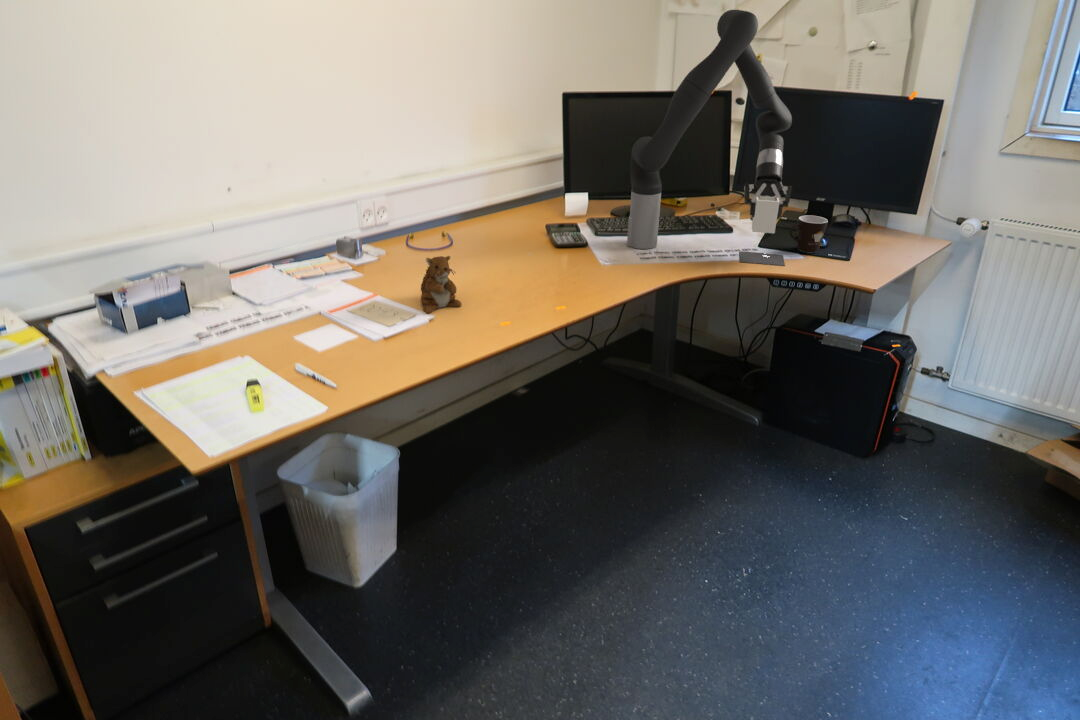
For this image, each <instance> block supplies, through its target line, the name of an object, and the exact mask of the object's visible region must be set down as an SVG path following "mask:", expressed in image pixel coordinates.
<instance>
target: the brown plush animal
mask: <svg viewBox="0 0 1080 720" xmlns="http://www.w3.org/2000/svg"><path fill="white" fill-rule="evenodd" d="M450 259H451V256H450V255H447V256H446V257H445V256H434V257H432V258H430V257H427V258H425V262H426V263H427V265H428V266H427V267H426V268H427V269H425V274H423V278H422V282H421V284H420V292H421V296H420V301H421V306H422V310H423V311H424V312H425V313H426V314H431V313H432V312H434V311H435V310H436V309H441V308H445V307H449V308H450V307H452V308H460V307H462V301H460V300H458V299H456V293H457V286H456V284H455V283H454V282H453V280H452V279H450V278H449V276H450V273H452V274H453V275H455V274H456V273H457V272H456V271H455V270H453V269H451V268H450V265H449V260H450Z"/></svg>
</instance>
